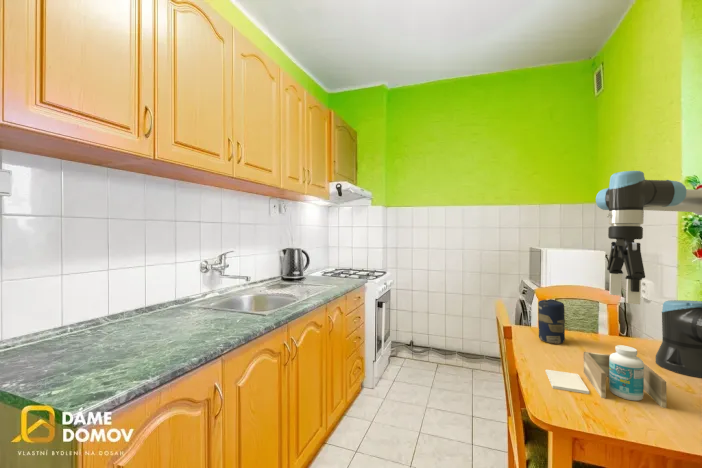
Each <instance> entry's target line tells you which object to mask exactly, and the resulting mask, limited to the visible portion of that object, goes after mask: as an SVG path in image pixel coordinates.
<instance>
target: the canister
mask: <svg viewBox="0 0 702 468" xmlns="http://www.w3.org/2000/svg"><path fill="white" fill-rule="evenodd" d="M537 306H538V308H537V309H538V312H537V313H538V321H537V322H538V338H539V339H540V340H541V341H543V342H545V343H549V344H550V343H551V344H562V343H564V342H565V339H566V336H565V335H566V334H565V330H566V328H565V323H566V319H565V318H566V317H565V315H566V314H565V304H564V303H563V302H562V301H558V300H556V299H552V298H550V299H542V300H539V301H538V305H537Z"/></svg>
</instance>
